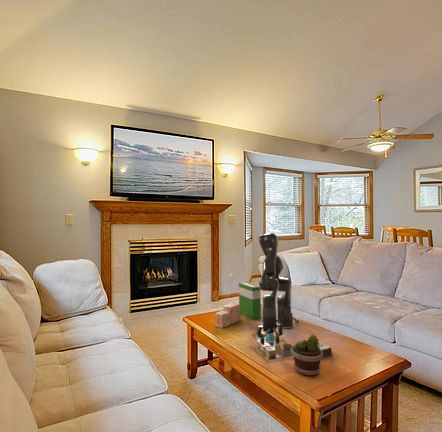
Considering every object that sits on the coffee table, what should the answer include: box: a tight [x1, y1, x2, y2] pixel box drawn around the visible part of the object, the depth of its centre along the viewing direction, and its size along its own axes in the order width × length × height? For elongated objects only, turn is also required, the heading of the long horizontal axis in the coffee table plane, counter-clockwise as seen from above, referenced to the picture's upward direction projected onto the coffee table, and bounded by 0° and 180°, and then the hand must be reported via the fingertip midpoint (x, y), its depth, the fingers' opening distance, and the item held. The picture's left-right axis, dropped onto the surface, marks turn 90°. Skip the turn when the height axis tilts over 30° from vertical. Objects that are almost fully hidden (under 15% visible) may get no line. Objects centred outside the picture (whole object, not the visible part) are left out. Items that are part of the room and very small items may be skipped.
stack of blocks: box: [214, 302, 241, 329], centre depth 217 cm, size 21×6×12 cm, turn 136°
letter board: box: [251, 336, 294, 361], centre depth 171 cm, size 22×20×4 cm
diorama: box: [255, 333, 275, 342], centre depth 189 cm, size 12×20×9 cm, turn 24°
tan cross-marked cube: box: [265, 347, 276, 356], centre depth 165 cm, size 4×4×3 cm
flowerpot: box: [290, 333, 324, 377], centre depth 148 cm, size 14×15×20 cm
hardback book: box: [238, 281, 262, 321], centre depth 233 cm, size 18×7×24 cm, turn 26°
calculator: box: [297, 340, 333, 358], centre depth 170 cm, size 11×4×15 cm
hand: (270, 344), depth 165 cm, fingers open, 8 cm apart
